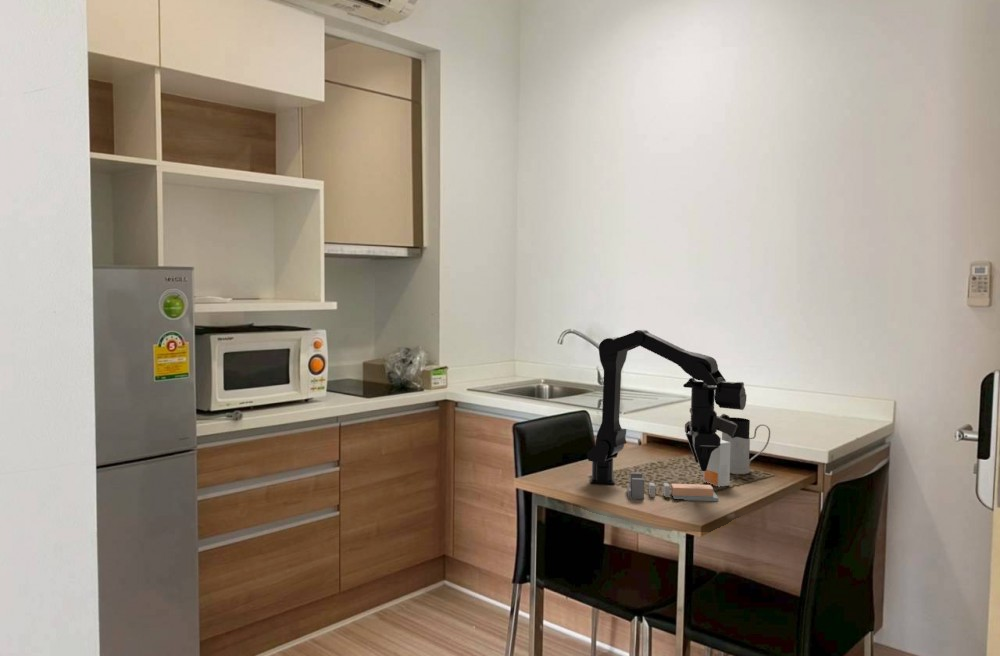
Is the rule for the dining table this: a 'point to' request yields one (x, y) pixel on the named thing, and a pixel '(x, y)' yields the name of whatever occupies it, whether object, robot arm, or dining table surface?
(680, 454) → the dining table surface
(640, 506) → the dining table surface
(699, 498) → the mat
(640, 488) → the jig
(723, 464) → the skincare box
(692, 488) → the bar
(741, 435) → the grey mug
